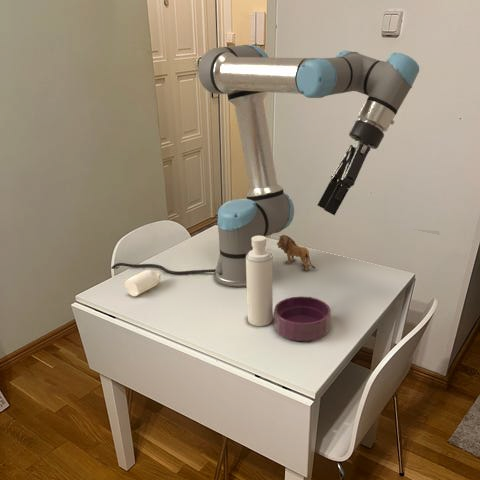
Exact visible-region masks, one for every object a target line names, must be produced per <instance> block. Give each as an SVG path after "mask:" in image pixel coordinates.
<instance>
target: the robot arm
mask: <svg viewBox="0 0 480 480" xmlns="http://www.w3.org/2000/svg"><path fill="white" fill-rule="evenodd" d="M419 72H420V65H419V64H418V62H417V61H416V60H415V59H414V58H412V57H411V56H409V55H407V54H404V53H402V52H393V53H391V54H390V55H389V57H388V58H387V59H386V61H384V60H379V59H376V58H374V57H370V56H366V55H364V54H361V53H359V52H358V51H351V50H342V51H340V52H339V54H336V55H335V56H334V57H269V55H268V54H267V52H266V50H264V49H262V48H261V47H260V46H258V45H254V44H253V45H250V44H243V45H242V44H241V45H240V44H239V45H230V46H218V47H213V48H211V49H209V50H207V51H206V52H205V53H204V54H203V55H202V56H201V58H200V60H199V63H198V65H197V74H198V75H197V76H198V79H199V82H200V84H201V86H202V87H203V88H204V89H205V90H206V91H208V92H209V93H211V94H215V95H227V101H228V103H229V104H231V105H232V106H233V107H234V109H235V116H236V122H237V125H238V131H239V138H240V142H241V147H242V148H241V149H242V152H243V159H244V163H245V168H246V174H247V180H248V185H249V190H248V192H247V194H246V198H238V199H232V200H229V201H227V202H225V203H223V204H222V205H221V206H220V207H219V208H218V210H217V221H216V224H217V228H218V229H217V231H218V232H217V233H218V244H219V245H218V246H219V247H218V248H219V257H218V260H217V264H216V267H215V268H214V269H213V268H210V269H194V270H181V271H175V270H170V269H168V268H166V267H164V266H163V265H160V264H155V263H138V264H133V263H126V262H117V263H115V264H114V265H112V266H111V268H110V269H111V270H114V269H115V268H117V267H120V266H121V267H128V268H158V269H160V270H162V271H164V272H165V273H167V274H171V275H190V274H191V275H192V274H203V273H204V274H205V273H207V274H208V273H214V276H215V280H216V281H217V282H218V283H219V284H221V285H223V286H226V287H227V286H228V287H233V288H234V287H235V288H241V287H247V278H246V254H247V253H249V252H250V251H251V250H253V247H252V237H254V236H264V237H266V238H267V237H269V236H271V235H274V234H278V233H280V232H282V231H283V230H285V229H287V228H289V226H290V225H291V224H292V222H293V220H294V216H295V207H294V203H293V200H292V199H291V198H290V196H289V195H288V194H287V193H285V192H284V187H283V186H281V185H280V184H279V183H278V180H277V172H276V167H275V161H274V156H273V149H272V144H271V138H270V137H271V136H270V132H269V131H270V130H269V125H268V120H267V119H268V118H267V113H266V108H265V103H264V101H265V98H266V97H267V95H268V93H276V94H289V95H291V94H292V95H303V96H304V97H306V98H308V99H322V98H325V97H327V96H333V95H340V94H344V93H345V94H346V93H350V92H356V93H360V94H362V95H365V96H367V98H366V100H365V102H364V104H363V105H362V107H361V109H360V111H359V113H358V115H357V120H355V121H354V123H353V125H352V127H351V128H350V130H349V132H348V136H349V137H350V138H351V139H352V140H354V141H355V142H354V143H353V144H350V145H349V146H348V148H347V150H346V152H345V154H344V155H343V157H342V158H341V160H340V162H339V164H338V165H337V167H336V168H335V170H334V171H333V173H332V175H331V176H330V179H329V182H328V183H327V186H326V188H325V190H324V192H323V194H322V196H321V198H320V199H319V201H318V203H317V206H318V207H319V208H321V209H323V210H324V211H325V212H327V213H329V214H330V215H333V216H336V214H337V212H338V210H339V208H340V206H341V205H342V203H343V201H344V199H345V198H346V196H347V193H348V192H349V190H350V188H352V187H353V186H354V185H355V183H356V181H357V178H358V176H359V173H360V171H361V169H362V167H363V165H364V162H365V160H366V158H367V156H368V154H369V153H370V151H371V149H373V150H376V149H378V148H379V147H380V145H381V143H382V141H383V139H384V137H385V132H387V131H388V130H389V128H390V126H391V125H392V126H393V125H394V124H395V120H394V118H395V117H396V115H397V113H398V111H399V110H400V107H402V104H403V103H404V101H405V99H406V97H407V96H408V94H409V92H410V90H411V89H412V88H413V86H414V83H415V81H416V79H417V77H418V75H419Z"/></svg>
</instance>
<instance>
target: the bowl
mask: <svg viewBox="0 0 480 480" xmlns="http://www.w3.org/2000/svg"><path fill="white" fill-rule="evenodd" d="M331 313H332V310H331V308H330V305H329V304H328V303H326V302H325V301H323V300H320V299H319V298H317V297H312V296H303V295H302V296H291V297H286V298H284V299H282V300H280V301H279V302H277V303H276V304H275V306H274V309H273V326H274V330H275V331H276V332H277V333H278V335H280V336H282V337H283V338H285V339H289V340H292V341H299V342H307V341H308V342H309V341H314V340H319V339H320V338H321V339H322V337H324V336H326V335H327V334H328V332H330V326H331Z"/></svg>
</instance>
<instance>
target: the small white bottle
mask: <svg viewBox="0 0 480 480" xmlns="http://www.w3.org/2000/svg"><path fill="white" fill-rule="evenodd" d="M161 277H162V272H161V270H150V269H146V270H143V271H141V272H139V273H137V274H135V275H133V276H132V277H130V278H128V279H127V280H125V281H124V288H125V289H126V291H127V292H128V294H129V295H130V296H132V297H137V296H140V295H141V294H142V293H145V292H146V291H148V290H150V289H152V288H154V287H156V285H158V284H159V283H160V281H161Z"/></svg>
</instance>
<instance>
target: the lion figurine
mask: <svg viewBox="0 0 480 480" xmlns="http://www.w3.org/2000/svg"><path fill="white" fill-rule="evenodd" d="M278 238H279V239H278V242H276V246H277V248H278V249H281V250H282V251H283V253H284V254H286V256H287V260H286V261H285V263H286V264H287V265H288V264H291V262H293V261H294V260H295V257H298V258H300V261H301V263H302V265H304V266H305V267H304V271H309V265H310V267H311V268H312V269H316V266H314V265H313V264H312V262H311V258H310V251H309V249H308V248H307V247H306V246H300V245H298V244H297V243H296V242H295V240H294V239H292V238H291V237H290V236H288V235H286V234H282V235H280V236H279V237H278Z"/></svg>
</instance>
